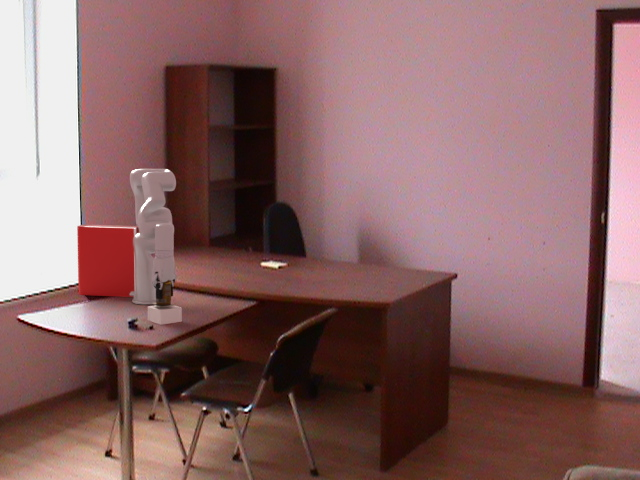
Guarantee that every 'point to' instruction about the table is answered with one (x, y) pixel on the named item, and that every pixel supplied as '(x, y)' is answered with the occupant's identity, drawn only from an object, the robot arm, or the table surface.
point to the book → (106, 260)
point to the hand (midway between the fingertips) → (164, 297)
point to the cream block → (164, 314)
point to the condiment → (165, 295)
